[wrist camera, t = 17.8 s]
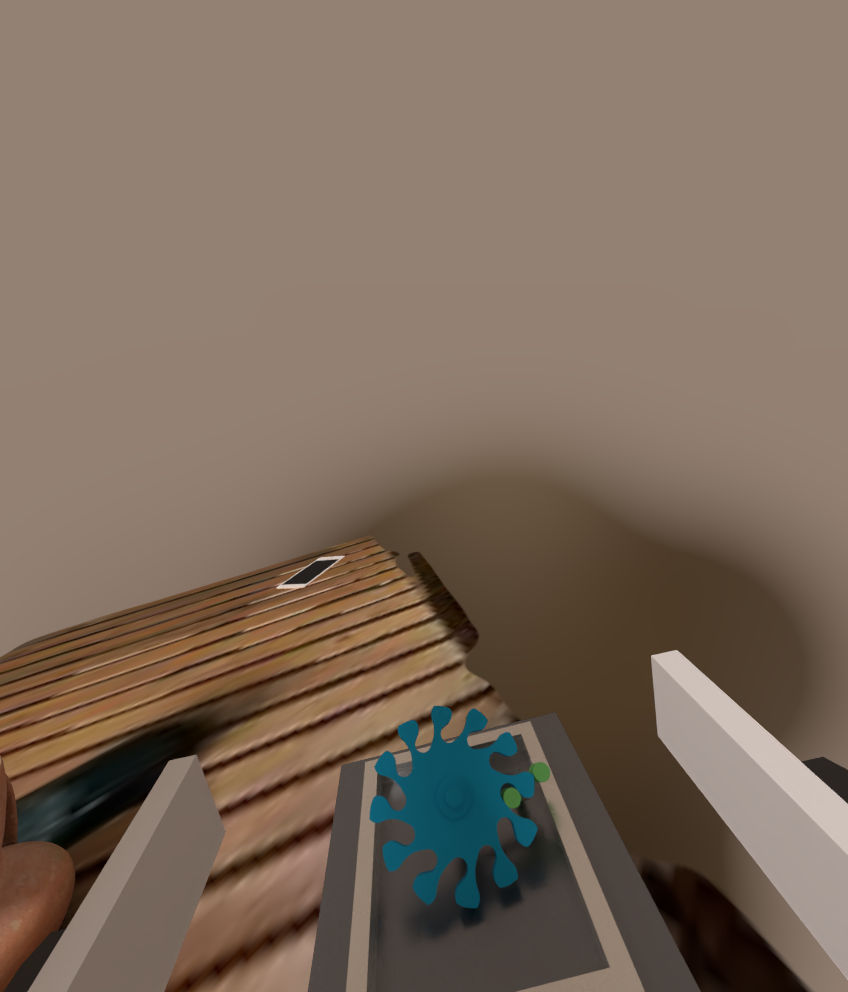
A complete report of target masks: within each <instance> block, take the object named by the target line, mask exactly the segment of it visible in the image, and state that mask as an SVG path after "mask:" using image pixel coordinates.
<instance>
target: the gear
mask: <svg viewBox="0 0 848 992" xmlns="http://www.w3.org/2000/svg"><path fill="white" fill-rule="evenodd" d="M451 716H452V713H451V709H449V708H447V707H443V706H434V707H433V709H432V713H431V717H432V721H433V725H434V738H433V741H432V744H431V747H430V749H429V750H428V751H427V752H425V753H421V752H419V751H418V750H417V749H416V747H415V741H416V738H417V736H418V731H419V729H418V724H417V723H416V721H415V720H411V721H407V722H405V723H403V724H402V725H400V726H398V733H399V736H400V738H401V739H402V740H403V741H404V742H405V743H406V745H407V746H408V748H409V750H410V753H411V757H412V765H413V769H412V772H411V773H410V775H409V776H407V777H401V776H400V775H399V774H398V773H397V769H396V760H395V757H394V756H393V754H392V753H390V752H388V751H386V752H384V753H383V754H382V755H381V756H380V758H379V759H378V761H377V763H376V764H375V766H374V767H375V770H376V772H377V773H378V774H380V775H382V776H386V777H389V778H391V779H393V780H394V781H395V782H396V783H397V784H398V785H399V786H400V788H401V789H402V791H403V792H404V794H405V796H406V804H405V806H404V808H403V809H402V810H399V811H397V810H394V809H393V808H392V807H391V805H390V804H389V802H388V800H387V799H386V798H385V797H383V796H375V797H374V798H373V800H372V803H371V807H370V818H369V819H370V820H371V821H372V822H374V823H380V822H382V821H384V820H388V819H397V820H401V821H403V822H405V823H407V824H409V825H411V826H412V827H413V829H414V832H415V838H414V840H413V842H412V843H411V844H409V845H403V844H401V843H399V842H398V841H395V840H391V841H388V842H387V843H385V845H384V846H383V847H382V849H383V858H384V861H385V864H386V867H387V869H388V871H391V872H392V871H395V870H397V869H398V868H399V867H400V866H401V864H402V863H403V861H404V860H405V859H406V858H407V857H408V856H409V855H411V854H413V853H414V852H417V851H420V850H426V849H430V850H433V851H434V852H435V854H436V855H437V864H436V866H435V867H434V869H432V870H430V871H425V872H421V873H419V874H418V875H417V876H416V878H415V879H414V882H413V889H414V891H415V893H416V894H417V896H418V897H419V898H420V899H421V900H422V901H423V902H425V903H426V904H427V905H430V904H431V903H432V902H433V901H434V899H435V897H436V894H437V886H438V882H439V879H440V876H441V874H442V872H443V871H444V869H445V868H446V867H447V865H448V864H449V863H450V862H451V861H452V860H453V859H454V858H457V857H460V858H463V859H464V860H465V861H466V864H467V871H466V874H465V875H464V877H463V878H462V879H461V880H460V881H459V882H458V883H457V885H456V888H455V899H456V903H457V904H458V905H460V906H462V907H465V908H477V907H478V905H479V902H480V894H479V891H478V888H477V884H476V877H475V868H476V862H477V858H478V854H479V851H480V849H481V848H482V847H483V846H485V845H489V846H491V847H492V848H493V850H494V853H495V859H494V863H493V867H492V876H493V879H494V881H495V883H496V884H497V885H498V886H499V887H500V888H502V887H506V886H508V885H510V884H512V883H513V882H514V881H516V880H517V879H518V873H517V870H516V867H515V866H514V864H513V863H512V862H511V861H510V860H509V859H508V858H507V857H506V855H505V854H504V852H503V850H502V848H501V845H500V842H499V838H498V832H497V823H498V821H499V820H500V819H501V818H503V817H506V818H508V819H509V820H510V822H511V824H512V828H513V833H514V837H515V839H516V840H517V842H518V843H520V844H521V845H523V846H525V847H528V846H529V845H530V844H531V843H532V841H533V839H534V837H535V835H536V832H537V829H538V828H537V826H536V825H535V823H534V822H533V821H532V820H530V819H526V818H522V817H520V816H518V815H516V814H515V813H514V812H512V811H511V810H510V809H509V808H517V807H518V806H519V805H520V802H521V801H526V800H529V799H531V798H532V797H533V795H534V793H535V782H546V781H547V780H548V779H549V777H550V769H549V767H548V766H547V765H546V764H545V763H543V762H537V763H534V764H532V765H531V766H530V768H529V772H527V771H524V770H516V771H510V772H504V773H500V772H497V771H495V770H494V769H492V768H491V766H490V764H489V757H490V755H491V754H492V753H498V754H501V755H503V756H506V757H509V756H512V755H514V754H515V753H516V752H517V746H516V743H515V741H514V739H513V737H512V735H511V734H510V732H504V733H503V734H501V735H500V736H499V737H498V738H497V740H496V741H495V742H494V743H493V744H492V745H491V746H489V747H486V748H482V749H472V748H471V747H470V746H469V745H468V741H467V738H468V735H469V734H470V733H472V732H478V731H481V730H482V729H483V728H484V727H485V726H486V725H487V721H488V720H487V719H486V717H485V716H484V715H483V714H482V713H481V712H479V711H478V710H476V709H475V708H473V709H471V710H470V711H469V713H468V715H467V717H466V724H465V728H464V730H463V732H462V733H461V735H460V736H459V737H458V738H457V739H456V740H454V741H453V742H451V743H446V742H444V741H443V739H442V738H441V730H442V729H443V728H444V727H445V726H446V725H447V724H448V723H449V721H450V719H451Z"/></svg>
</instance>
